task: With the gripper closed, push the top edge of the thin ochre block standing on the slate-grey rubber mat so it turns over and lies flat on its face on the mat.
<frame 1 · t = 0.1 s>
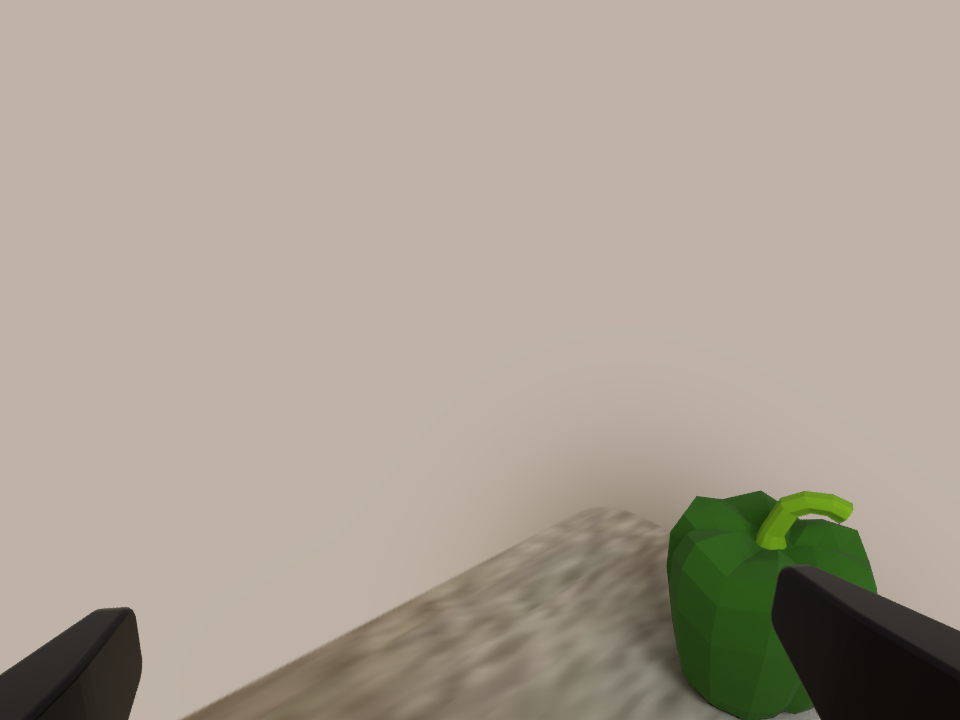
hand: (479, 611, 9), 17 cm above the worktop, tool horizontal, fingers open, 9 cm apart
bell pepper: (742, 682, 30), on the worktop
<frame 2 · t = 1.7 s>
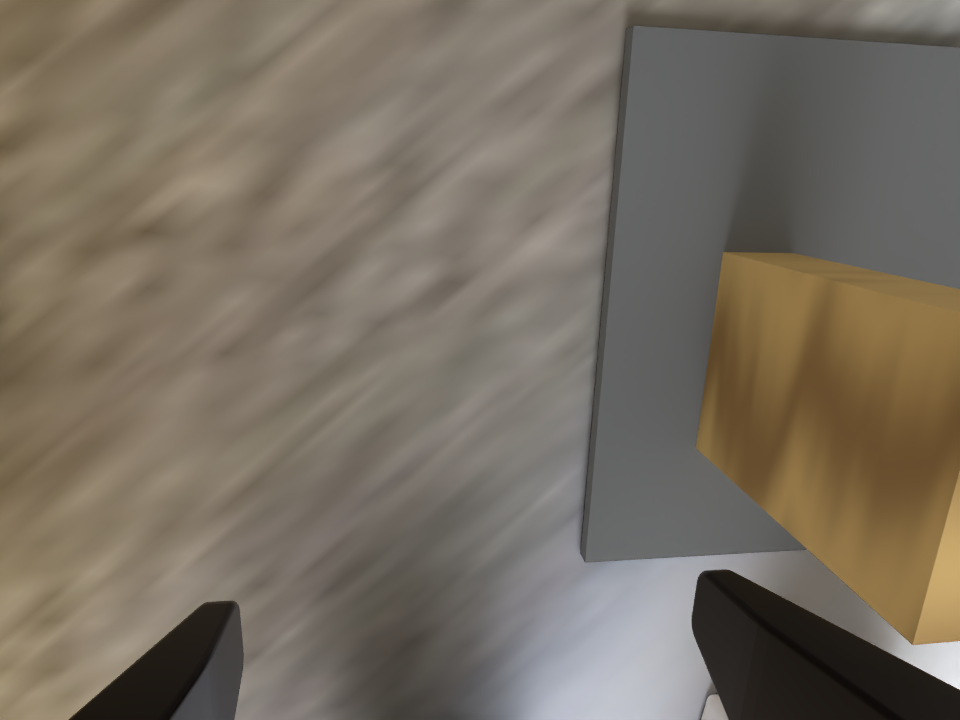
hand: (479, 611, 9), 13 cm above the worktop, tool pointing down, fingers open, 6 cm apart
ochre block: (742, 354, 22), point 1 cm above the worktop, touching rubber mat
rubber mat: (841, 321, 23), on the worktop
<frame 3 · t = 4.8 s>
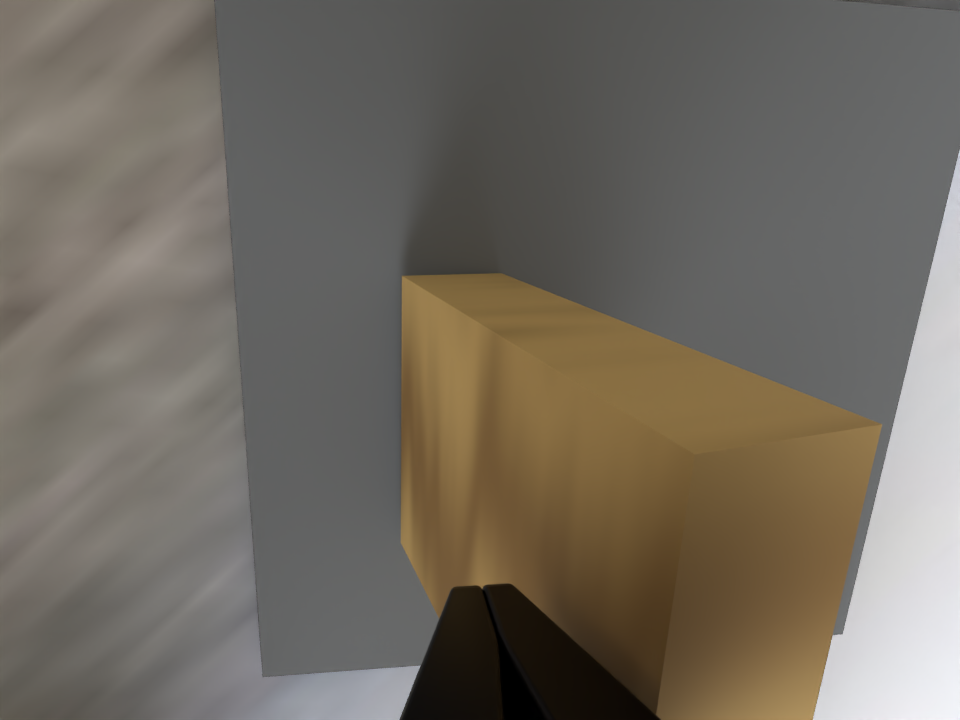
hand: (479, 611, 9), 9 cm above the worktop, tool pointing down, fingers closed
ochre block: (449, 412, 16), point 1 cm above the worktop, tilted 14°, touching gripper, rubber mat
rubber mat: (593, 363, 17), on the worktop
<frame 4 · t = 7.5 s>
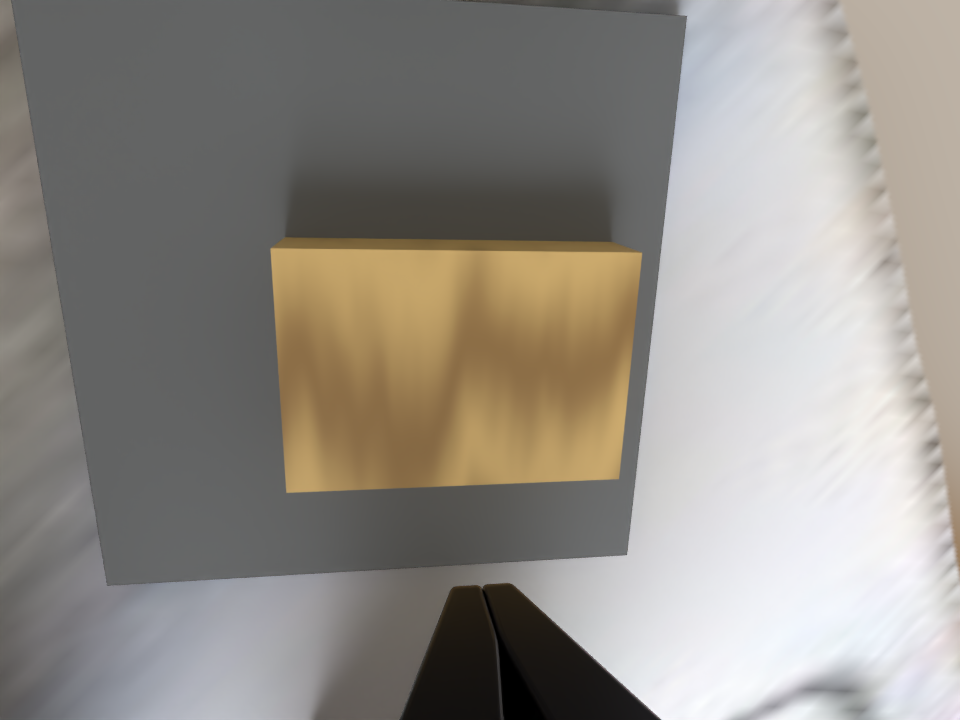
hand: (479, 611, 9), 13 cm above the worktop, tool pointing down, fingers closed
ochre block: (285, 364, 19), point 2 cm above the worktop, tilted 90°, touching rubber mat
rubber mat: (377, 315, 21), on the worktop
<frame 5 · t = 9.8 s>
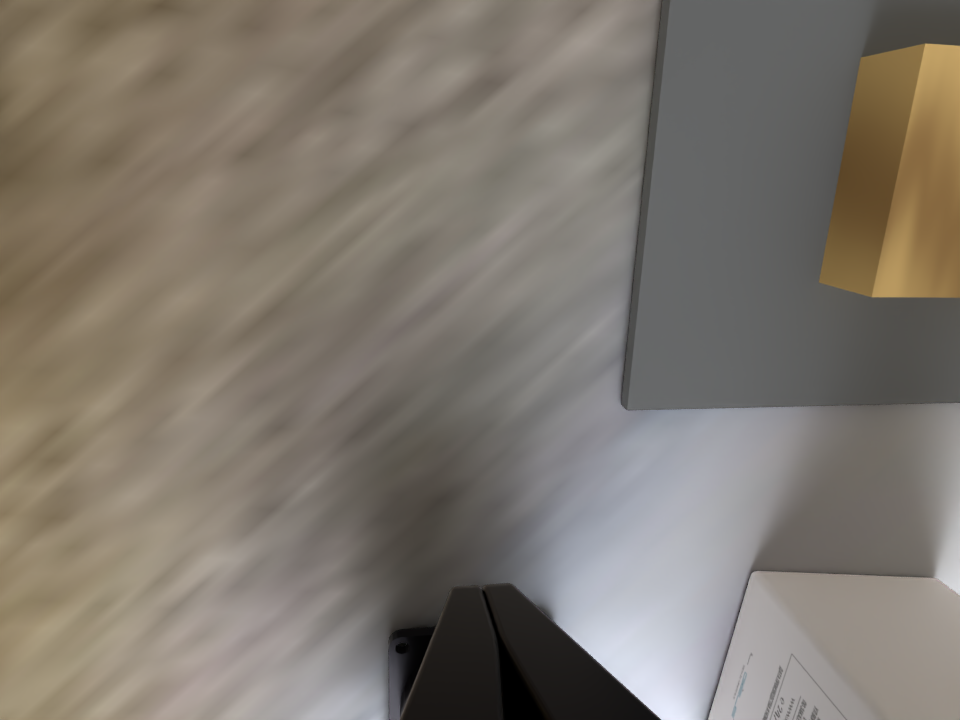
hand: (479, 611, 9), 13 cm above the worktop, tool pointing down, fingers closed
ochre block: (866, 176, 20), point 2 cm above the worktop, tilted 90°, touching rubber mat
rubber mat: (904, 146, 22), on the worktop
tall white carton: (812, 655, 28), on the worktop
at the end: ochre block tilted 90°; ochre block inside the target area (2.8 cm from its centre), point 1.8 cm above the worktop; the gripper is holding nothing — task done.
